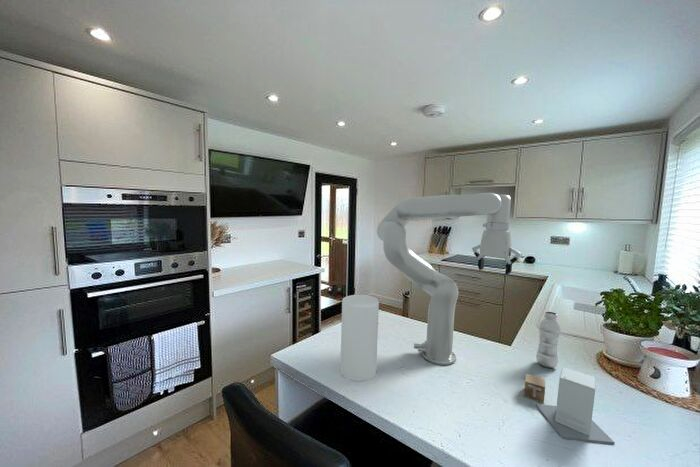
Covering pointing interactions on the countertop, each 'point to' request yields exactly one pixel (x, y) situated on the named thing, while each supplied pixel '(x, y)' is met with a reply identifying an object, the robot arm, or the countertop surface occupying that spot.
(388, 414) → the countertop surface
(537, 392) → the letter cube
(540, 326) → the plastic bottle
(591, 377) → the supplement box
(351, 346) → the cylinder
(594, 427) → the mat
